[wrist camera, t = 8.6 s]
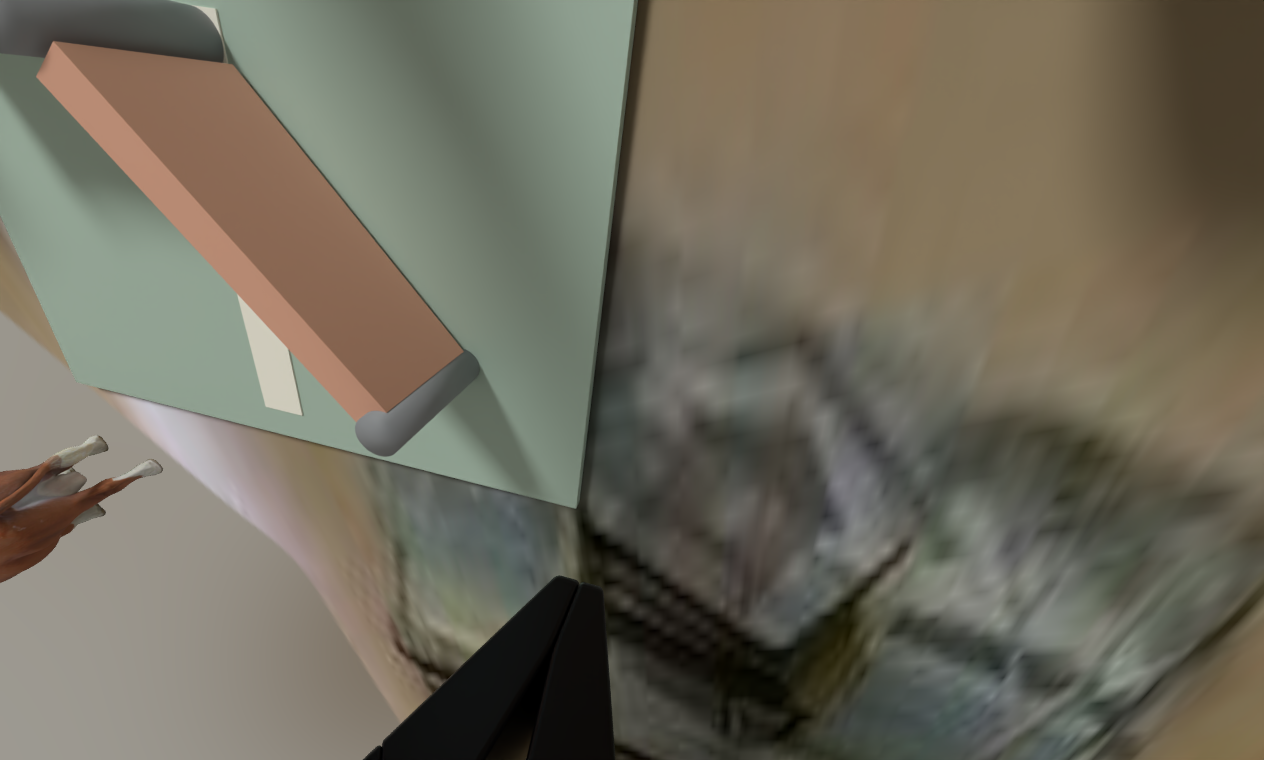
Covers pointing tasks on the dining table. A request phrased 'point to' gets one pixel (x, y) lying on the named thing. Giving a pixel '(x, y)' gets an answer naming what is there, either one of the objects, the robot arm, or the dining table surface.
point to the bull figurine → (52, 504)
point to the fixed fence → (109, 27)
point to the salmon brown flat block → (268, 230)
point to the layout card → (364, 220)
